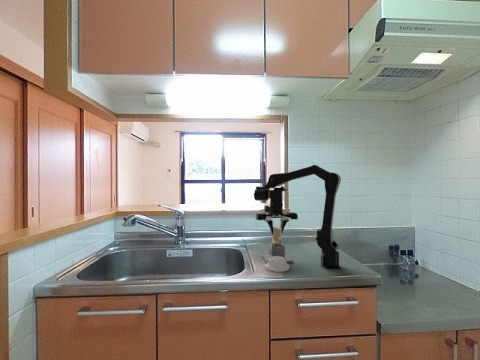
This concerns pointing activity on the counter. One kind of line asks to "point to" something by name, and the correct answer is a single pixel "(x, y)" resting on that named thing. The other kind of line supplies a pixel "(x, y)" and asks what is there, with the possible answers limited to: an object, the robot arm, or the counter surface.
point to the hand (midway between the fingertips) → (276, 234)
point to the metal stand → (276, 253)
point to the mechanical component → (277, 264)
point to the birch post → (276, 236)
